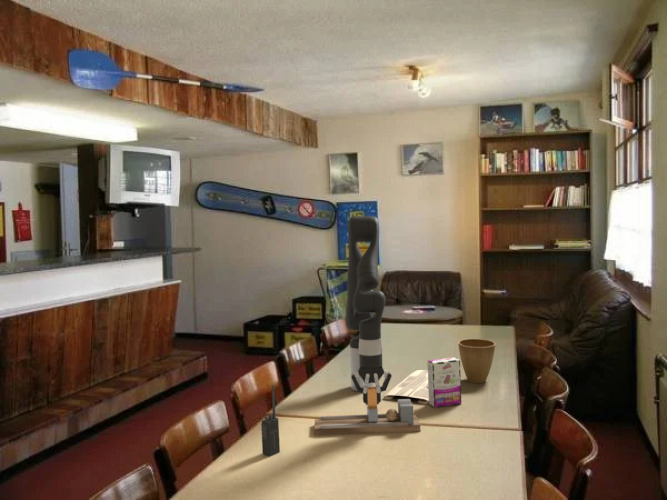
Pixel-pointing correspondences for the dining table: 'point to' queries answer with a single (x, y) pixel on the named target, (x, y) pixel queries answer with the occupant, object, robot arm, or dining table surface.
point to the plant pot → (476, 358)
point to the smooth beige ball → (392, 415)
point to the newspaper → (412, 387)
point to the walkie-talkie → (270, 432)
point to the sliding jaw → (372, 405)
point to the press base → (361, 425)
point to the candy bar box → (444, 382)
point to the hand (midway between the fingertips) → (371, 403)
